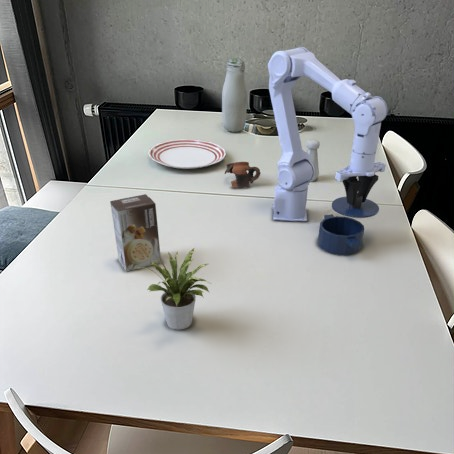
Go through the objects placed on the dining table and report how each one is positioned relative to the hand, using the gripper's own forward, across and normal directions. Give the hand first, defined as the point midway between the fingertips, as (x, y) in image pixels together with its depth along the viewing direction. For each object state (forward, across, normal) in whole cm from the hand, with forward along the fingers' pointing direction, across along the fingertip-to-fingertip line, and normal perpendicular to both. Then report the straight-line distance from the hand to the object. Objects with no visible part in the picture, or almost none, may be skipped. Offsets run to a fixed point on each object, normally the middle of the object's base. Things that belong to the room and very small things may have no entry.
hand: (355, 202), depth 133 cm
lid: (+2, 0, 0) cm, 2 cm away
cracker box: (+11, -54, +16) cm, 57 cm away
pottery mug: (+11, -6, +46) cm, 47 cm away
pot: (+10, -5, -1) cm, 12 cm away
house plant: (+11, -57, -12) cm, 59 cm away
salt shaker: (+11, +15, +38) cm, 43 cm away
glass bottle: (+11, +19, +95) cm, 98 cm away
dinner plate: (+11, -13, +73) cm, 75 cm away
